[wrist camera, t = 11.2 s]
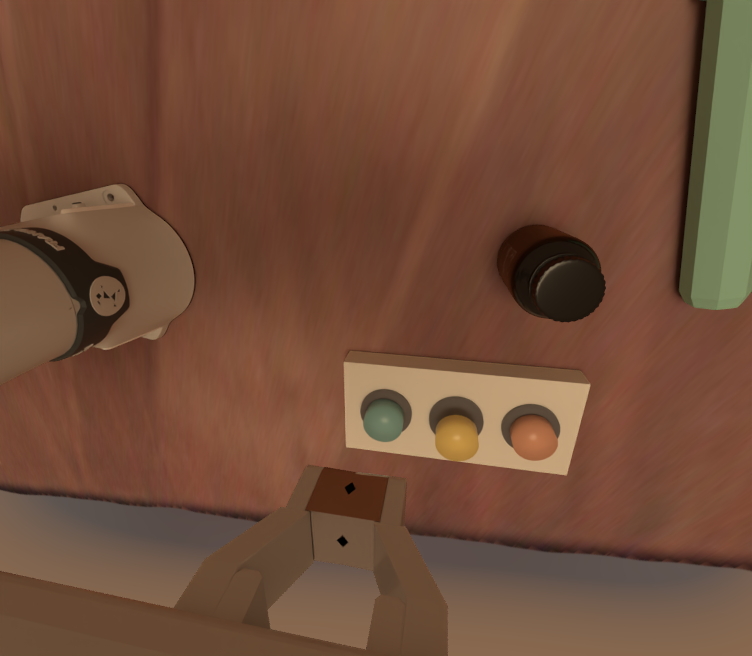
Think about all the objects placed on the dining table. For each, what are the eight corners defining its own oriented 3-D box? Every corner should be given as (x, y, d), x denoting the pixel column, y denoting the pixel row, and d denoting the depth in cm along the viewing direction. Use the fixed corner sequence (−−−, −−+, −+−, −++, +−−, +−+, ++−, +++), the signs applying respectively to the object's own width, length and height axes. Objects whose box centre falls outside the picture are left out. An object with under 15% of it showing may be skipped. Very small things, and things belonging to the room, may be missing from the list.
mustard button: (434, 445, 41) (433, 458, 39) (437, 412, 40) (436, 424, 38) (474, 450, 41) (476, 463, 39) (479, 417, 39) (481, 429, 37)
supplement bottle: (529, 304, 39) (562, 354, 28) (482, 261, 38) (496, 295, 27) (584, 255, 36) (644, 289, 25) (535, 208, 36) (574, 222, 25)
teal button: (366, 428, 44) (363, 439, 42) (366, 396, 42) (362, 406, 41) (403, 433, 43) (401, 444, 41) (405, 400, 42) (403, 411, 40)
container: (765, 320, 30) (841, -78, 21) (673, 318, 34) (705, -27, 25) (749, 295, 35) (806, -43, 26) (669, 296, 38) (695, -4, 29)
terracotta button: (507, 445, 41) (509, 457, 40) (512, 412, 40) (516, 423, 38) (548, 450, 41) (553, 463, 39) (556, 417, 39) (561, 428, 37)
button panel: (351, 431, 49) (344, 450, 46) (349, 350, 45) (342, 364, 42) (559, 457, 45) (568, 479, 42) (580, 370, 41) (592, 387, 37)
